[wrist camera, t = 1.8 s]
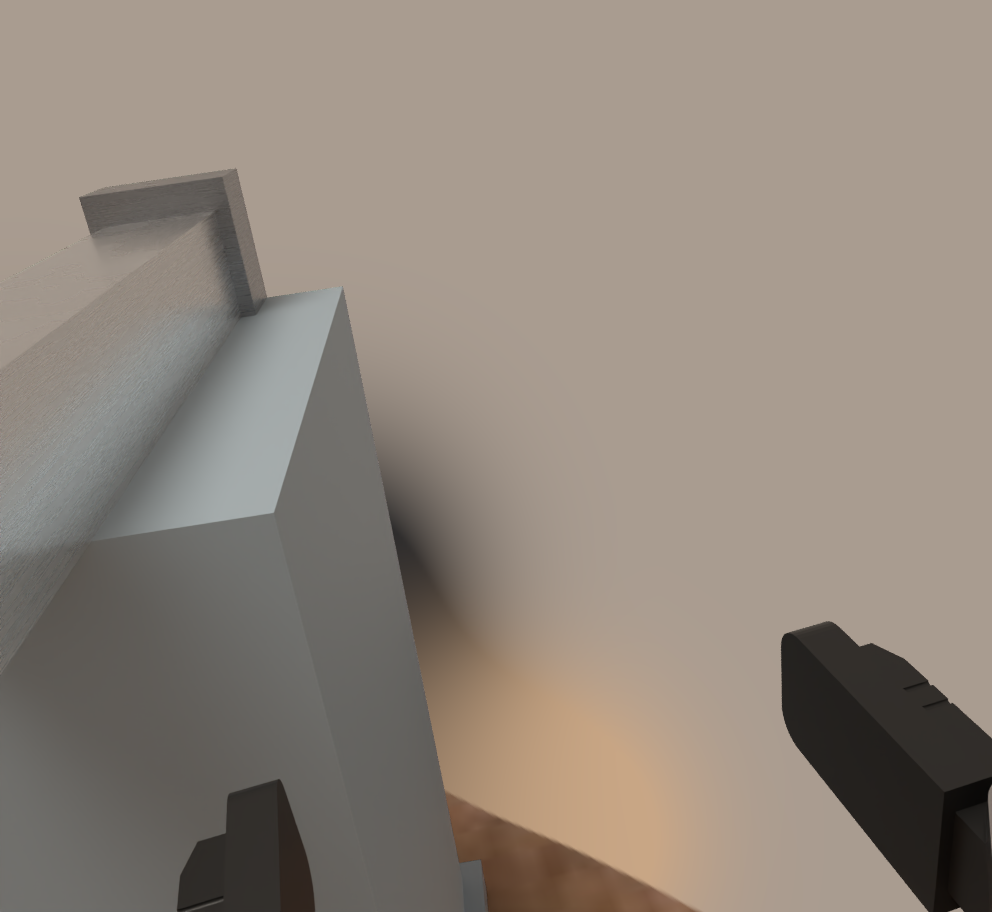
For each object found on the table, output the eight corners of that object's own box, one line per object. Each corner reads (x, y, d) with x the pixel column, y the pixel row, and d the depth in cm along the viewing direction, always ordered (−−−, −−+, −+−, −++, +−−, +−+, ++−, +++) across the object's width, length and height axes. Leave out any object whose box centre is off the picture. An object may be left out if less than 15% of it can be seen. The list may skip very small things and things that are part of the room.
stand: (535, 1422, 28) (324, 530, 15) (152, 1494, 28) (-403, 644, 15) (486, 887, 46) (371, 276, 33) (254, 926, 46) (48, 324, 33)
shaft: (-534, 1592, 5) (-1317, 1076, 3) (-1400, 1753, 5) (-2755, 1312, 3) (267, 297, 32) (236, 168, 30) (142, 316, 32) (104, 187, 30)
